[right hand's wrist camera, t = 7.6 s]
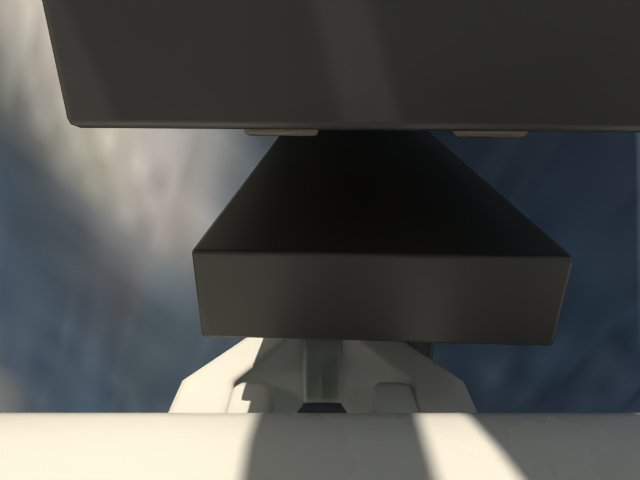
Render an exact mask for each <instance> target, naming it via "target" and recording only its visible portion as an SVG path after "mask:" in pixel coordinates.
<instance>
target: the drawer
mask: <svg viewBox="0 0 640 480" xmlns="http://www.w3.org/2000/svg"><path fill="white" fill-rule="evenodd" d="M244 131H245V134H247V135H249V136H279V137H278V139H277V140H276V141H275V143H274V144H273V145H272V146H271V148H270V149H269V150H268V152H267V153H266V154H265V156H264V157H263V158H262V160H261V161H260V162H259V164H258V165H257V166H256V168H255V169H254V170H253V172H252V173H251V174H250V175H249V177H248V178H247V179H246V181H245V182H244V183H243V185H242V186H241V187H240V189H239V190H238V191H237V193H236V194H235V195H234V197H233V198H232V199H231V201H230V202H229V203H228V204H227V206H226V207H225V208H224V210H223V211H222V212H221V214H220V215H219V216H218V218H217V219H216V220H215V222H214V223H213V224H212V226H211V227H210V228H209V230H208V231H207V232H206V233H205V235H204V236H203V237H202V239H201V240H200V241H199V243H198V244H197V245H196V247H195V248H194V249H193V252H192V256H193V264H194V272H195V280H196V288H197V297H198V305H199V313H200V321H201V329H202V334H203V336H212V337H249V338H286V339H323V340H360V341H397V342H405V343H406V344H408V345H409V346H411V347H412V348H414V349H415V350H417V351H418V352H420V353H421V354H423V355H424V356H426V357H427V358H429V359H430V360H432V356H433V348H434V343H471V344H508V345H545V346H549V345H552V344H553V341H554V337H555V333H556V329H557V325H558V321H559V317H560V313H561V309H562V305H563V301H564V297H565V293H566V289H567V285H568V281H569V277H570V273H571V269H572V265H573V258H572V256H571V255H569V254H568V253H567V252H566V251H565V250H564V249H563V248H561V247H560V246H559V245H558V244H557V243H556V242H554V241H553V240H552V239H551V238H550V237H549V236H548V235H546V234H545V233H544V232H543V231H542V230H541V229H540V228H538V227H537V226H536V225H535V224H534V223H533V222H531V221H530V220H529V219H528V218H527V217H526V216H525V215H523V214H522V213H521V212H520V211H519V210H518V209H517V208H515V207H514V206H513V205H512V204H511V203H510V202H509V201H507V200H506V199H505V198H504V197H503V196H502V195H500V194H499V193H498V192H497V191H496V190H495V189H494V188H492V187H491V186H490V185H489V184H488V183H487V182H486V181H484V180H483V179H482V178H481V177H480V176H479V175H478V174H476V173H475V172H474V171H473V170H472V169H471V168H469V167H468V166H467V165H466V164H465V163H464V162H463V161H461V160H460V159H459V158H458V157H457V156H456V155H455V154H453V153H452V152H451V151H450V150H449V149H448V148H446V147H445V146H444V145H443V144H442V143H441V142H440V141H438V140H437V139H436V138H435V137H434V136H433V135H432V134H430V133H429V132H413V131H319V130H300V129H244ZM449 132H450V133H452V134H453V135H455V136H458V137H518V138H520V137H522V136H525V135H527V133H528V131H449ZM297 413H347V411H346V410H345V409H344V408H343V406H342V405H341V403H303V406H302V407H301V408H300V409H299V411H298V412H297Z"/></svg>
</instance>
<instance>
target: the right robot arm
mask: <svg viewBox="0 0 640 480" xmlns="http://www.w3.org/2000/svg"><path fill="white" fill-rule="evenodd" d="M303 403H341V405H342V406H343V408H344V409H345V410H346V411H347V413H297V412H298V411H299V409H300V408H301V407H302V406H303ZM0 480H640V413H478V412H477V410H476V408H475V406H474V404H473V401H472V399H471V397H470V395H469V393H468V390H467V388H466V386H465V384H464V382H463V381H462V380H461V379H459V378H458V377H456V376H455V375H453V374H452V373H450V372H448V371H447V370H445V369H444V368H442V367H441V366H439V365H438V364H436V363H435V362H433V361H432V360H430V359H429V358H427V357H426V356H424V355H423V354H421V353H420V352H418V351H417V350H415V349H414V348H412V347H411V346H409V345H408V344H406V343H405V342H397V341H360V340H323V339H286V338H249V337H247V338H246V339H244V340H243V341H241V342H240V343H238V344H237V345H235V346H234V347H232V348H231V349H229V350H228V351H226V352H225V353H223V354H222V355H220V356H219V357H217V358H216V359H214V360H213V361H211V362H210V363H208V364H207V365H205V366H204V367H202V368H201V369H199V370H198V371H196V372H195V373H193V374H192V375H190V376H189V377H187V378H186V379H184V380H183V381H182V383H181V385H180V388H179V390H178V392H177V394H176V396H175V399H174V401H173V403H172V405H171V408H170V410H169V412H168V413H0Z"/></svg>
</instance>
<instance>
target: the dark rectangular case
mask: <svg viewBox="0 0 640 480" xmlns="http://www.w3.org/2000/svg"><path fill="white" fill-rule="evenodd" d="M42 2H43V7H44V11H45V16H46V21H47V25H48V30H49V35H50V39H51V44H52V49H53V53H54V58H55V63H56V67H57V72H58V76H59V81H60V86H61V90H62V95H63V100H64V104H65V109H66V114H67V118H68V120H69V122H70V124H72V125H74V126H77V127H80V128H179V129H300V130H420V131H542V132H640V0H42Z"/></svg>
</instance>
